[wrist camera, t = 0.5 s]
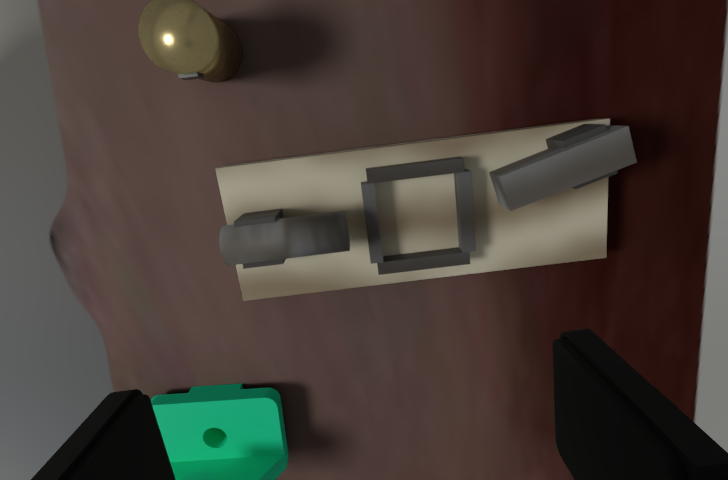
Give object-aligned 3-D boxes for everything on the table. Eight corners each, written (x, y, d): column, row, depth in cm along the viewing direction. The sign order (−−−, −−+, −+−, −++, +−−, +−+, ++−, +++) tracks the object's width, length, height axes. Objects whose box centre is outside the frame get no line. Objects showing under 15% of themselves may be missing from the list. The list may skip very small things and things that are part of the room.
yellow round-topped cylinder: (176, 20, 33) (129, -5, 26) (235, 13, 32) (202, -15, 26) (191, 88, 34) (149, 80, 27) (247, 81, 34) (219, 71, 27)
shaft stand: (223, 165, 35) (196, 175, 30) (596, 118, 35) (643, 118, 29) (249, 291, 38) (229, 322, 33) (593, 250, 38) (636, 274, 32)
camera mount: (281, 379, 41) (256, 463, 31) (290, 447, 43) (269, 546, 33) (153, 388, 41) (88, 474, 31) (169, 455, 43) (112, 556, 33)
